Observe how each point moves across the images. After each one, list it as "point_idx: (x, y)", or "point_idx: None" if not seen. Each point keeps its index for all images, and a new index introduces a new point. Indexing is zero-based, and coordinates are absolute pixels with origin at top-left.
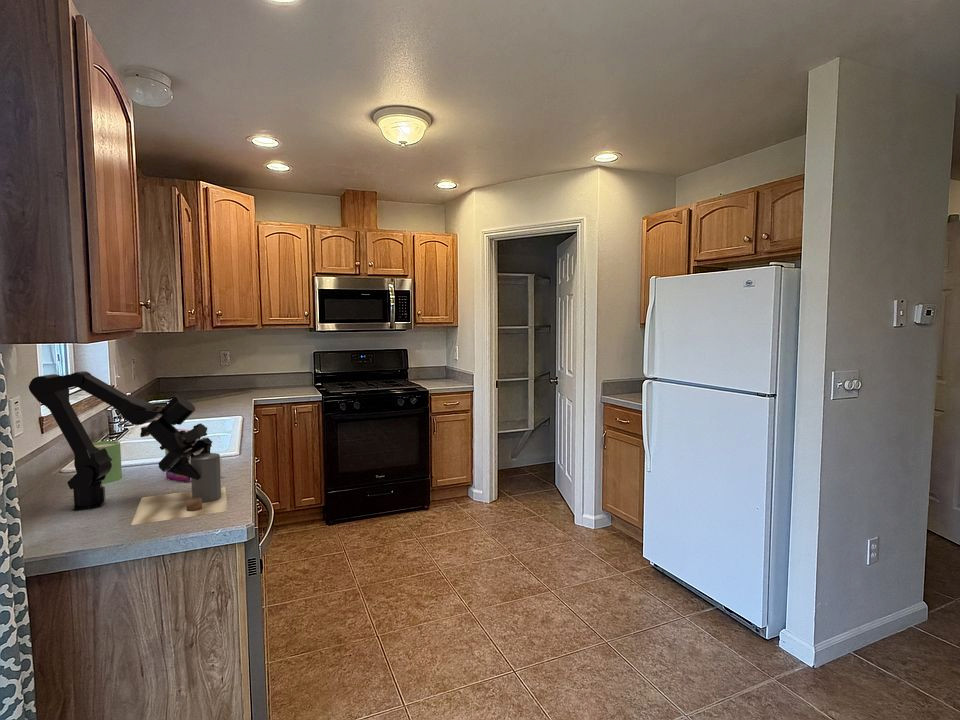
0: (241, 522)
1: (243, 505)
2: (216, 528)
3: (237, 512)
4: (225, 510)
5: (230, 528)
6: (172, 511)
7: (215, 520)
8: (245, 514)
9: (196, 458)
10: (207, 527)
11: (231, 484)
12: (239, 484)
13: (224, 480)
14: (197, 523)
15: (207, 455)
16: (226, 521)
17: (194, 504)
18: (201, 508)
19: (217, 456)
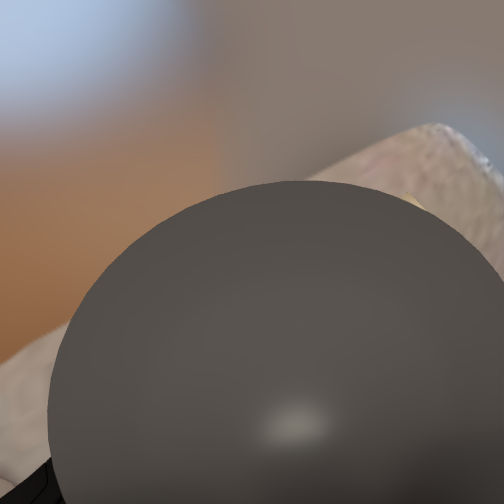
0: (429, 132)
1: None
2: (485, 173)
3: (373, 179)
4: (407, 200)
5: (467, 141)
6: None
7: (454, 209)
8: (378, 147)
9: (494, 463)
10: (493, 200)
11: (33, 412)
12: (31, 377)
13: (4, 458)
14: (491, 250)
15: (243, 447)
16: (444, 172)
17: None
18: None
19: (289, 183)
